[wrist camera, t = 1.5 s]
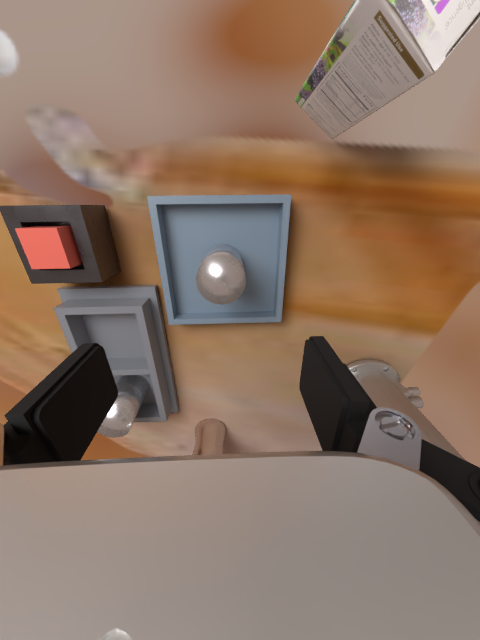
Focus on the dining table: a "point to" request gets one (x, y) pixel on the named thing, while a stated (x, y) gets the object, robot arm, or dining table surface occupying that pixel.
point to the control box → (88, 234)
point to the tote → (212, 229)
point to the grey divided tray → (124, 338)
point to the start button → (50, 247)
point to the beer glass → (209, 437)
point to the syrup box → (382, 56)
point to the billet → (221, 275)
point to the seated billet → (125, 405)
